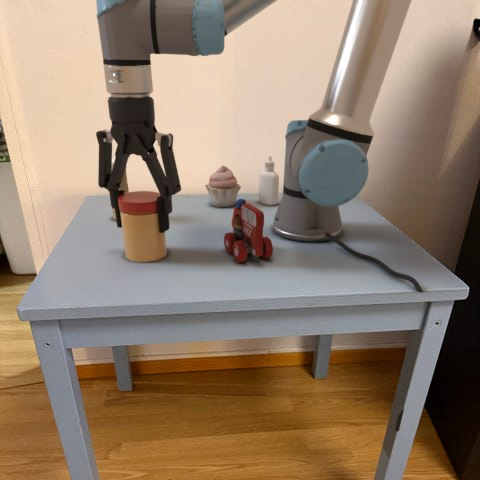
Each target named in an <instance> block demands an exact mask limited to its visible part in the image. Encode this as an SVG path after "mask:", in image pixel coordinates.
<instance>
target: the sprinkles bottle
mask: <svg viewBox="0 0 480 480" xmlns="http://www.w3.org/2000/svg"><path fill="white" fill-rule="evenodd" d="M114 161H115V158H112V169H113V165H114ZM111 172H112V171H111ZM121 186H122V187H121ZM120 187H121V188H120V189H119V190H124V193H129V192H130V191H129V183H128V176H127V166H126V168H125V171H124V175H123V178H122V182H121V185H120ZM111 209H112V208H111ZM112 218H113V220H115V221H116V213H115V209H112Z"/></svg>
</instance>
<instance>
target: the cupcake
mask: <svg viewBox="0 0 480 480" xmlns="http://www.w3.org/2000/svg"><path fill="white" fill-rule="evenodd" d="M204 187H205V189H206V191H207V193H208V197H209V201H210V204H211V205H212V206H214V207H217V208H231V207H233V206H235V205H236V202H237V197H238V194H239V192H240V190H241V188H242V186H241V185H240V184H239V183H238V179H237V178H236V176H235V175H234V172H233V171H232V170H231V169H230V168H229V167H227V166H226V165H221V166H219V167H218V169H216V170H215V172H214V173H212V174H210V176H209V179H208V183H207V184H205V185H204Z"/></svg>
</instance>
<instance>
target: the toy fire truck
mask: <svg viewBox="0 0 480 480" xmlns="http://www.w3.org/2000/svg"><path fill="white" fill-rule="evenodd" d="M264 226H265V214H264V211H262V210H261V209H259V208H257V207H256V206H254V205H252V204H251V203H247V201H246V200H245V199H244V198H238V199H236V201H235V206H234V209H233V212H232V219H231V232H225V233H224V236H223V244H224V249H225V251H226V253H228V254H232V257H233V259H234V261H235V262H236V263H245V262H246V261H247V259H248V256H249V257H254V258H259V257H260V258H262V259H263V260H266V259H270V258H272V256H273V252H274V246H273V242H272V240H271V238H270V237H269V236H264Z"/></svg>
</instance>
